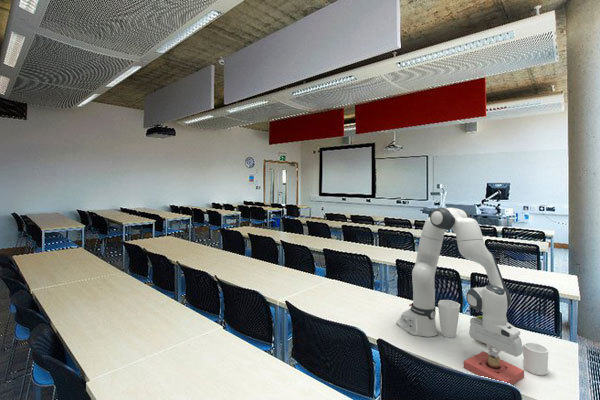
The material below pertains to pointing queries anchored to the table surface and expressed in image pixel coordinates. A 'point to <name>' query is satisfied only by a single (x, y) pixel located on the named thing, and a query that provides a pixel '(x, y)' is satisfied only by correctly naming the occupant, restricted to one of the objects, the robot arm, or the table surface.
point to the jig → (504, 373)
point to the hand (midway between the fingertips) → (493, 356)
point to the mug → (535, 358)
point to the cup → (448, 317)
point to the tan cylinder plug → (493, 362)
